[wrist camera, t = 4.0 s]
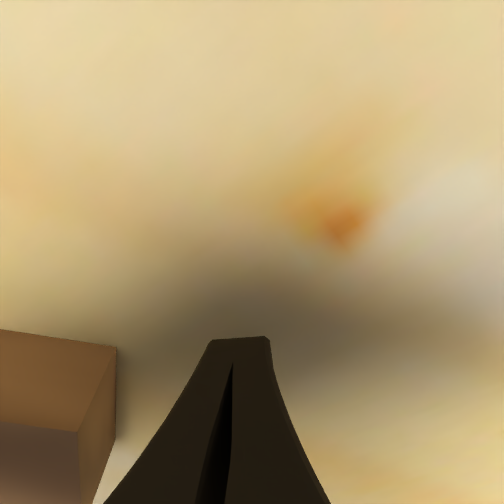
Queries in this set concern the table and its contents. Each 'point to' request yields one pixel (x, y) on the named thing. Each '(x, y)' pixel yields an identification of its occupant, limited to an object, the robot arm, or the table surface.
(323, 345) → the table surface
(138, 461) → the robot arm
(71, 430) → the walnut bar
